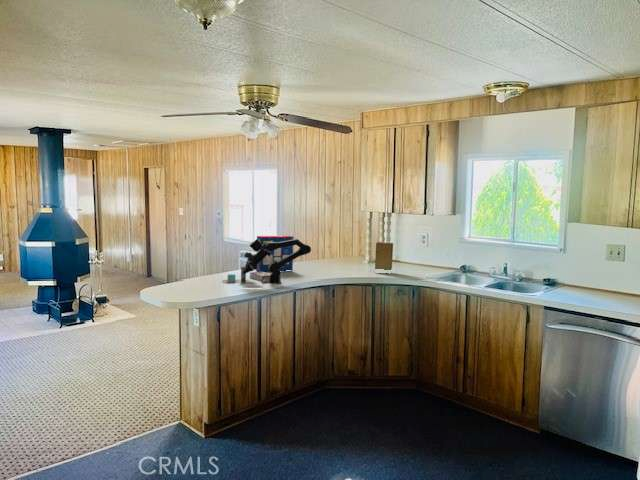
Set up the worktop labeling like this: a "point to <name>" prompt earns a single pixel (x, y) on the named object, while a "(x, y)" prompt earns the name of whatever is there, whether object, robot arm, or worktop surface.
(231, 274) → the teal block
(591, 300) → the worktop surface
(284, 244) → the robot arm
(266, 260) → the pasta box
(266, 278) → the candy bar box
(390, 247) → the food packaging
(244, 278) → the walnut strip
